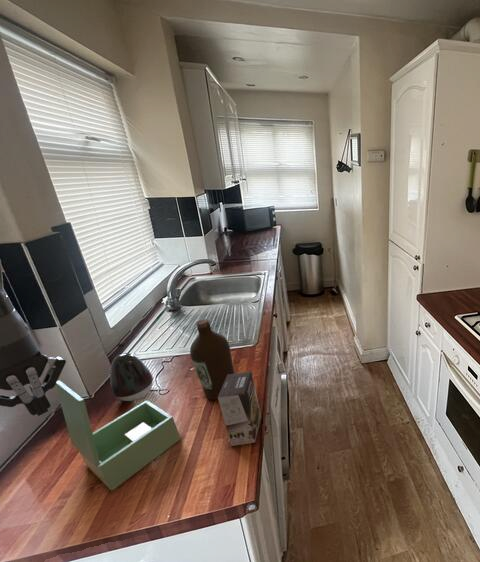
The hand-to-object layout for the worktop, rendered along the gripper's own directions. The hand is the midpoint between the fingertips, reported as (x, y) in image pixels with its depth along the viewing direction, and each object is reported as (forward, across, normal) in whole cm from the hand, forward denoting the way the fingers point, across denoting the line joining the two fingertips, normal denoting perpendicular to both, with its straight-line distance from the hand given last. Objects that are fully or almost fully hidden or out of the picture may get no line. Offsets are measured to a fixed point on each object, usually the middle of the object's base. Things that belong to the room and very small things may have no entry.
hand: (41, 412), depth 61 cm
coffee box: (+23, -28, +20) cm, 42 cm away
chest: (+23, -10, 0) cm, 25 cm away
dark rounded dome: (+23, -21, -23) cm, 39 cm away
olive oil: (+23, -35, -1) cm, 42 cm away
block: (+22, -12, 0) cm, 25 cm away
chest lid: (+6, -4, 0) cm, 8 cm away
